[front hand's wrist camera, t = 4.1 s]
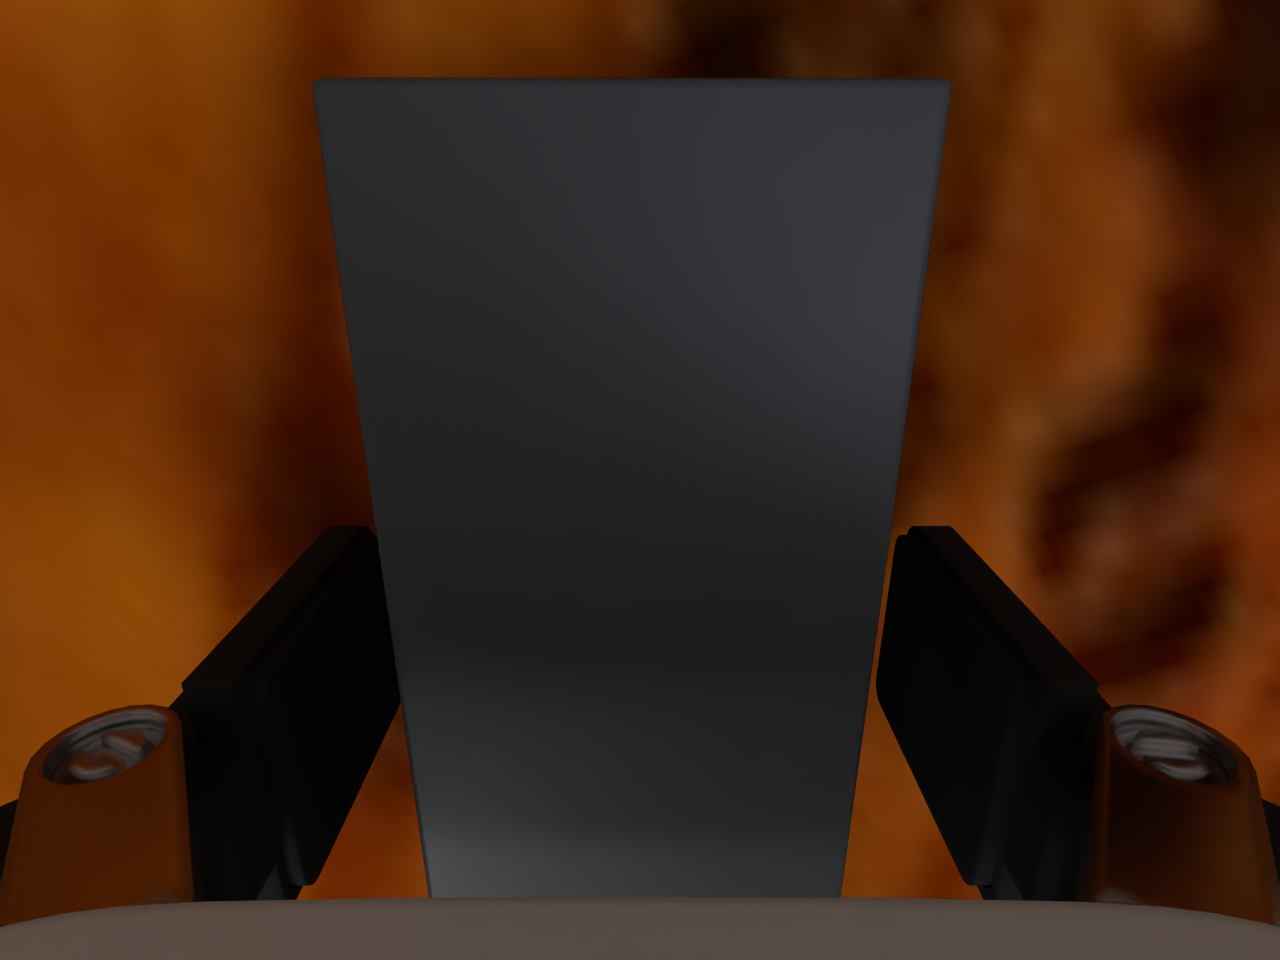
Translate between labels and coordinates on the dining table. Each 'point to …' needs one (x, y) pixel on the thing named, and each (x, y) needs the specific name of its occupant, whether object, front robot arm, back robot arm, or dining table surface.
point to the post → (633, 457)
